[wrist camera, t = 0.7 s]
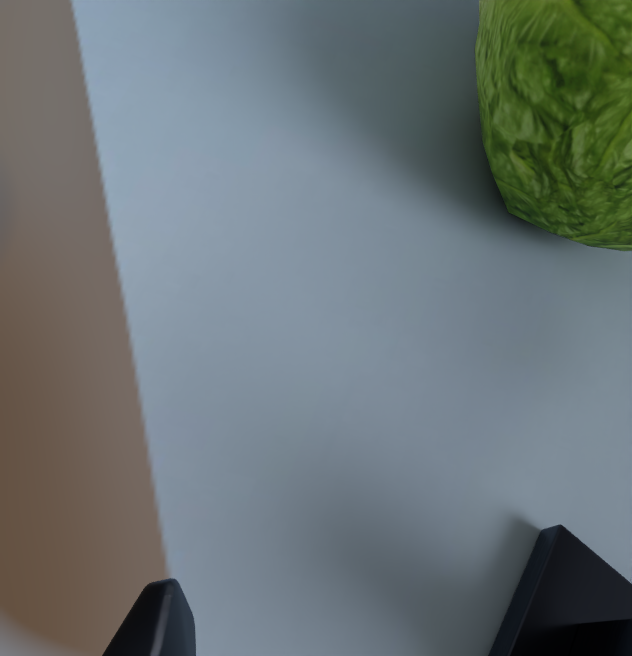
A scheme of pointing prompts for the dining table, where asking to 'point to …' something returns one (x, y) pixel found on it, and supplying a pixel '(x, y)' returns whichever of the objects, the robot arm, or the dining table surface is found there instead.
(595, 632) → the bracket
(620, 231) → the lettuce
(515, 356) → the dining table surface
